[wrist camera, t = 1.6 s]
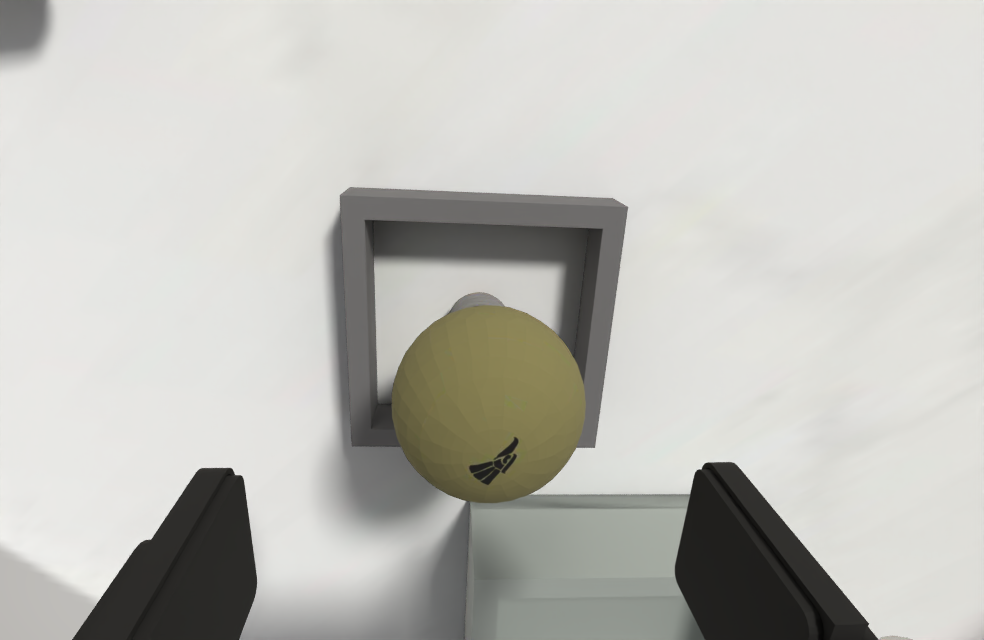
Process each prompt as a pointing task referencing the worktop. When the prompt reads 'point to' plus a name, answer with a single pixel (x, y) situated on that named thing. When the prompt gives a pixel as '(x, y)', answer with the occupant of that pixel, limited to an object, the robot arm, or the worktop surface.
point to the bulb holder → (474, 208)
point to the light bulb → (488, 402)
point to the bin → (577, 569)
